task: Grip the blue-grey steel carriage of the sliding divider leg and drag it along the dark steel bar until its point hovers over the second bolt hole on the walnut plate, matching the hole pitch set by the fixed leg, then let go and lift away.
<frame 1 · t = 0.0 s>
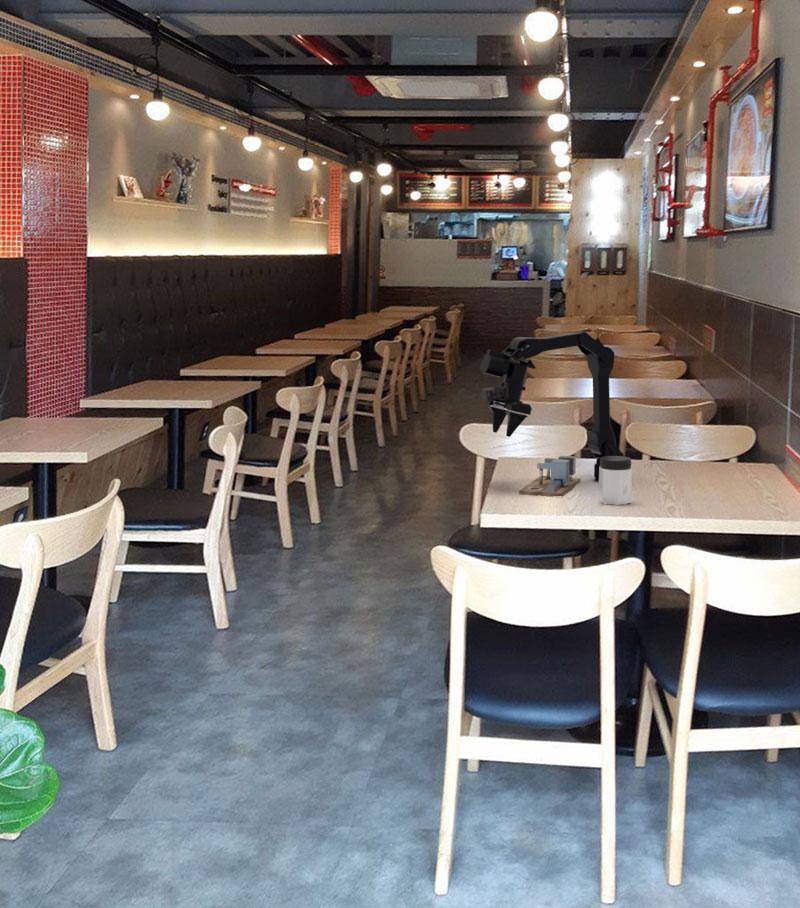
hand: (501, 434, 331), 15 cm above the table, tool pointing down, fingers open, 9 cm apart
jar: (614, 502, 313), on the table
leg: (552, 472, 331), point 5 cm above the table, slide at 0.0 cm
beam: (560, 488, 332), resting on hole plate
hole plate: (550, 487, 333), on the table
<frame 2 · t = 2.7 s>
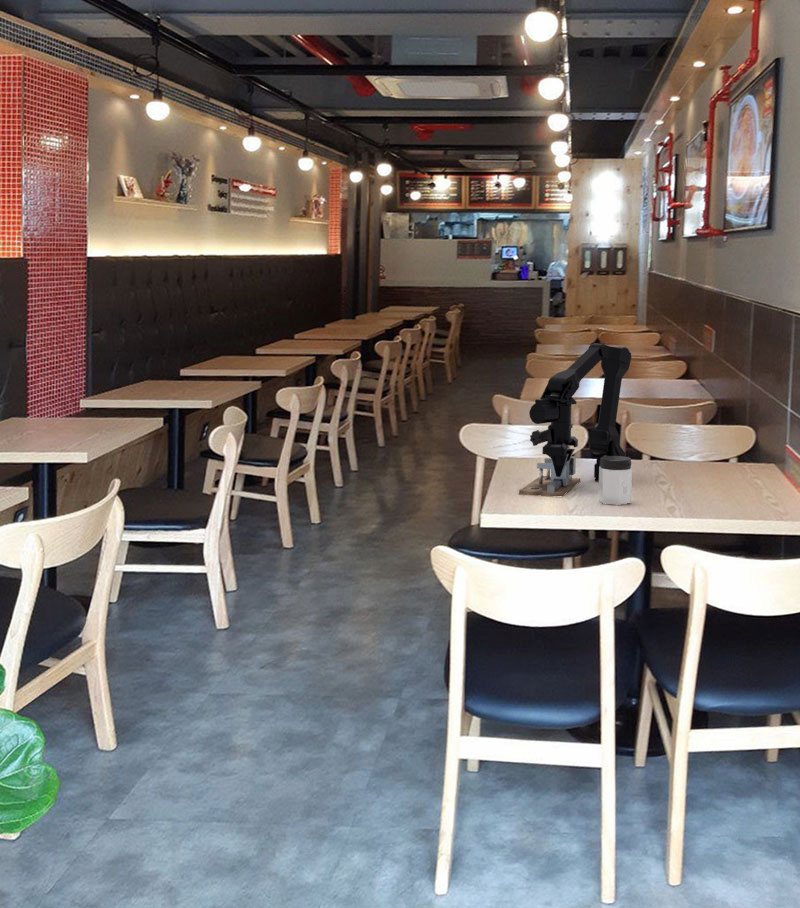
hand: (559, 475, 330), 4 cm above the table, tool pointing down, fingers closed on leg, 4 cm apart
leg: (552, 472, 331), point 5 cm above the table, slide at 0.0 cm, touching gripper
everything else where it was.
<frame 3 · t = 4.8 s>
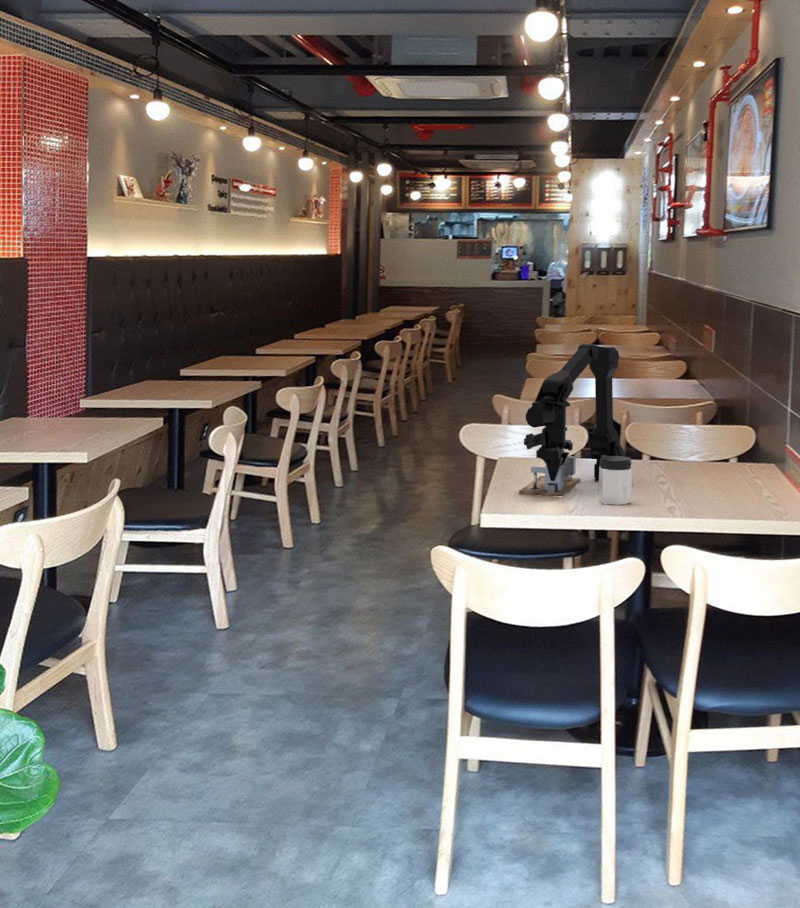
hand: (554, 479, 324), 4 cm above the table, tool pointing down, fingers closed on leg, 4 cm apart
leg: (546, 476, 325), point 5 cm above the table, slide at 7.0 cm, touching gripper
everything else where it was.
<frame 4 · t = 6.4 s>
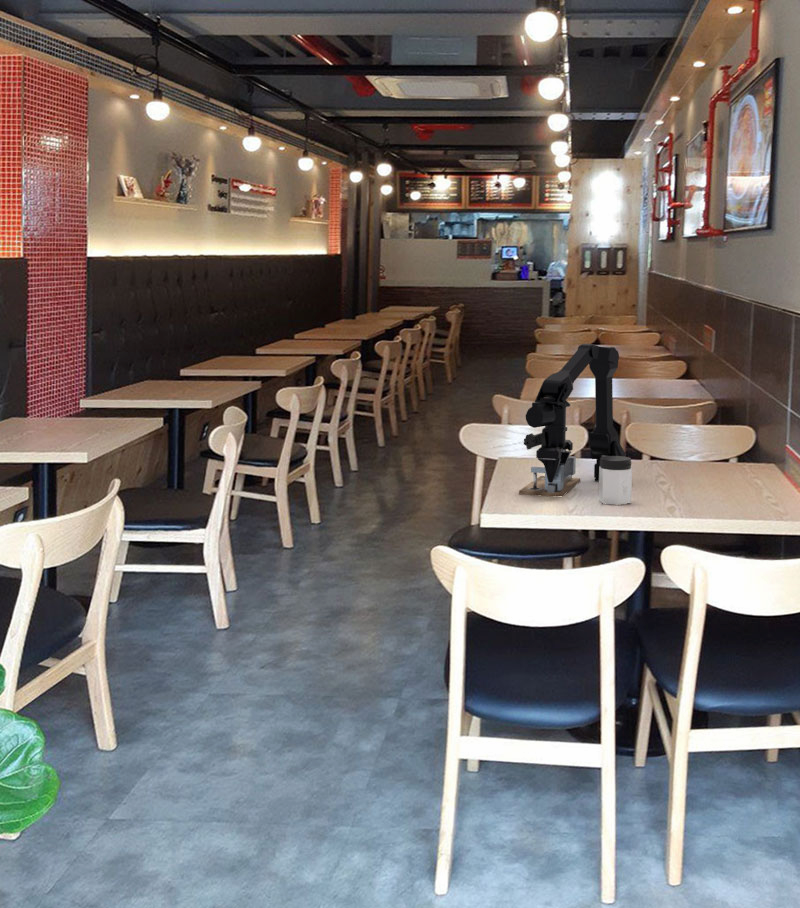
hand: (554, 479, 324), 4 cm above the table, tool pointing down, fingers open, 9 cm apart
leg: (546, 476, 325), point 5 cm above the table, slide at 7.0 cm
everything else where it was.
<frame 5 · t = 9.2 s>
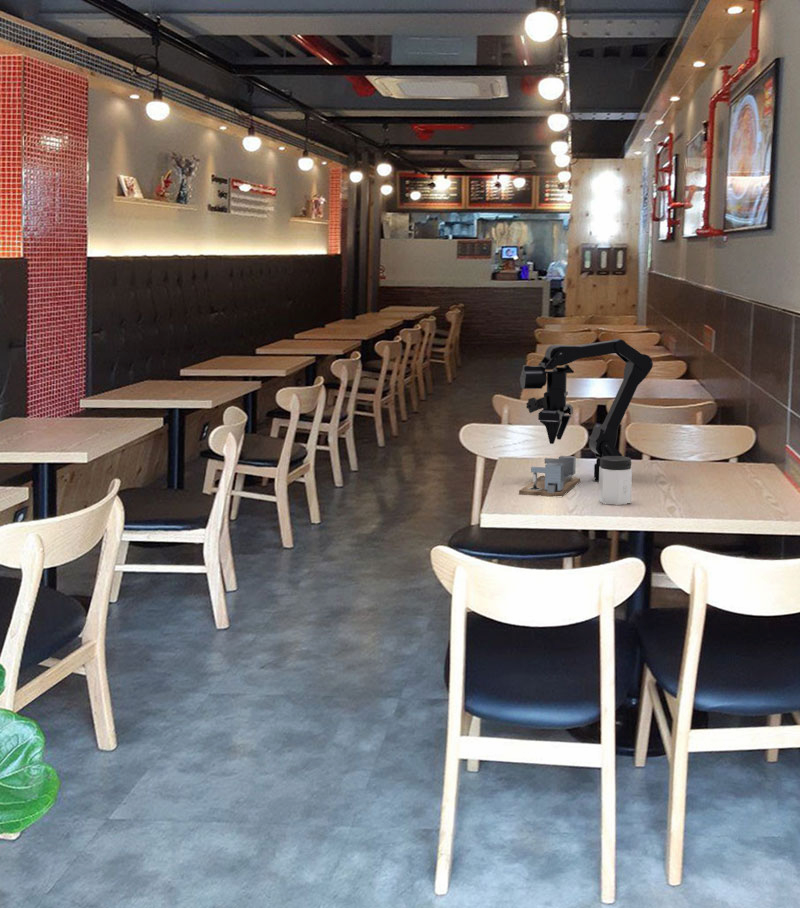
hand: (555, 441, 341), 12 cm above the table, tool pointing down, fingers open, 9 cm apart
nothing on the table moved.
at the end: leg slide at 7.0 cm; the gripper is holding nothing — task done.
